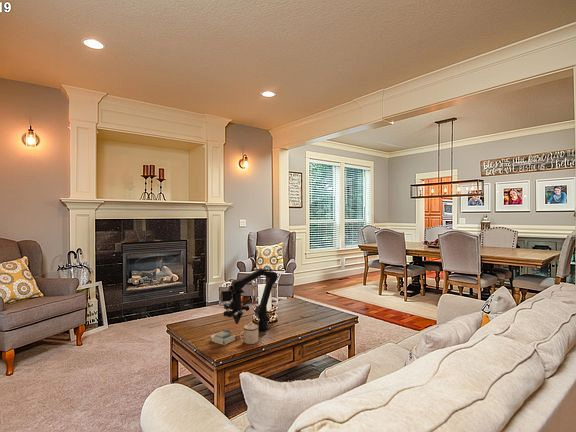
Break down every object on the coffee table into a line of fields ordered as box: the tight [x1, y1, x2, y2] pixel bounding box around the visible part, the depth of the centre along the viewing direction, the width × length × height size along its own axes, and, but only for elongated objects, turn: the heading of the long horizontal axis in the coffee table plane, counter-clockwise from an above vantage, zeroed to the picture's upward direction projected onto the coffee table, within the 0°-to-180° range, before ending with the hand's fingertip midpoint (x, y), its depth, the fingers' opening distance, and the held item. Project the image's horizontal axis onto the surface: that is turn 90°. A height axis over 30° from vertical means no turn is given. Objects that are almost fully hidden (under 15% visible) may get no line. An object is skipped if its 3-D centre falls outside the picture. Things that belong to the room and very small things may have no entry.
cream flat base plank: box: [210, 331, 236, 346], centre depth 202 cm, size 10×11×3 cm
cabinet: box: [214, 329, 232, 339], centre depth 202 cm, size 8×6×5 cm
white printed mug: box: [239, 321, 259, 345], centre depth 199 cm, size 12×9×12 cm
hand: (236, 324), depth 212 cm, fingers closed
